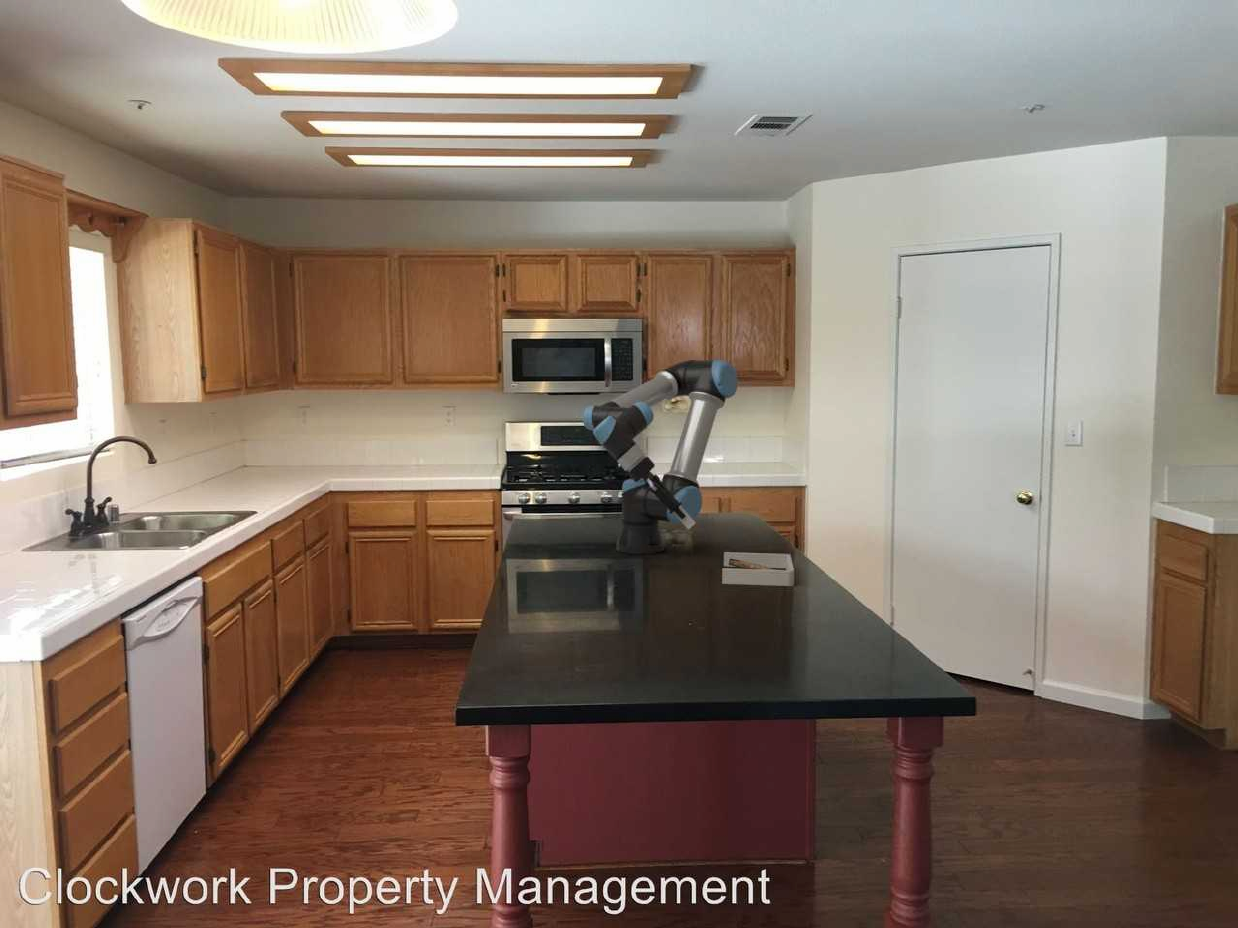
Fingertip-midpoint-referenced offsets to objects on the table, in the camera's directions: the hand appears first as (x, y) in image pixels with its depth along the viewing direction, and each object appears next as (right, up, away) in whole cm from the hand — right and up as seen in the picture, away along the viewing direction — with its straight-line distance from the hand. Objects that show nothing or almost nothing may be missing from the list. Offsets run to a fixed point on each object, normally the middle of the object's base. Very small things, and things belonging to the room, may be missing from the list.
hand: (691, 525), depth 262 cm
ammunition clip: (+15, -11, +1) cm, 19 cm away
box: (+18, -14, -1) cm, 23 cm away
